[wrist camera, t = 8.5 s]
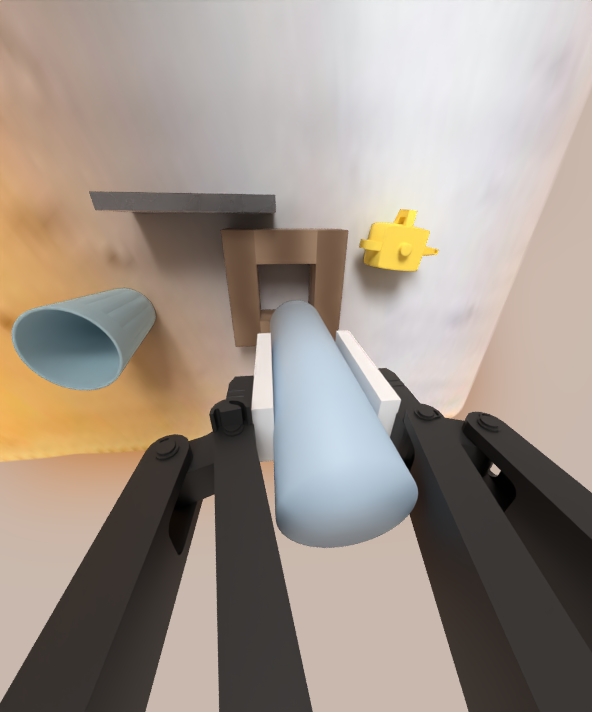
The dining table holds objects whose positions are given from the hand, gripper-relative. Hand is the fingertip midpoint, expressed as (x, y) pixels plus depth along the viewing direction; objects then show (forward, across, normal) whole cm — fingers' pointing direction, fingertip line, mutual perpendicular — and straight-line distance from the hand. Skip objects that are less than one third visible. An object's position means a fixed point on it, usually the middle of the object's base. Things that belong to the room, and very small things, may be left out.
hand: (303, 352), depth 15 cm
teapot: (+17, +12, +5) cm, 21 cm away
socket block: (+17, 0, 0) cm, 17 cm away
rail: (+17, -8, +8) cm, 20 cm away
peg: (+5, 0, 0) cm, 5 cm away
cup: (+17, -18, -2) cm, 25 cm away
